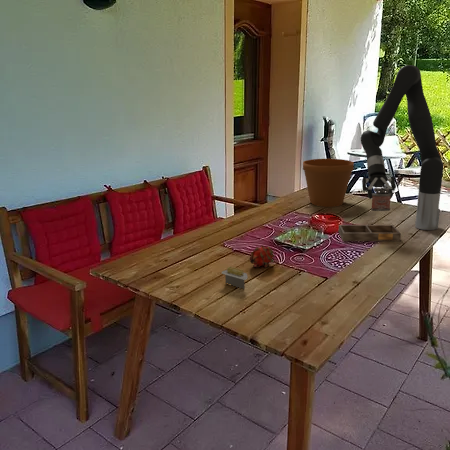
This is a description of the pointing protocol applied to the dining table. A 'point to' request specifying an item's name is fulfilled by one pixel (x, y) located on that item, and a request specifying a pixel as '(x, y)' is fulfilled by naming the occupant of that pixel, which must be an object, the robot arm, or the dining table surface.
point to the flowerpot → (327, 180)
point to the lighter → (381, 200)
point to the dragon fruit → (262, 256)
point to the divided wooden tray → (369, 233)
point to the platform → (235, 277)
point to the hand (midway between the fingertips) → (380, 198)
